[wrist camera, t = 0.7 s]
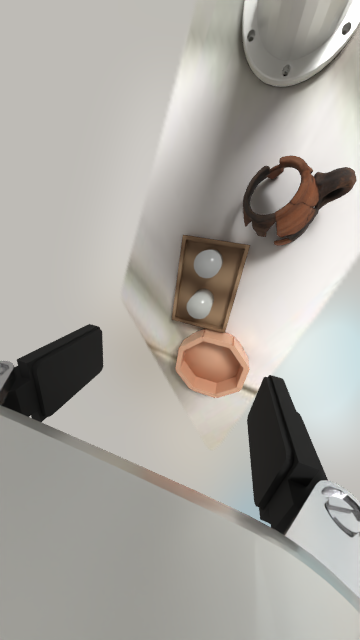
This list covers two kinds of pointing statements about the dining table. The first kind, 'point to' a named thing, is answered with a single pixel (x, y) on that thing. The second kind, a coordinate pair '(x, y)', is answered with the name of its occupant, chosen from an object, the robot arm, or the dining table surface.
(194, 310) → the stone
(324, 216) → the dining table surface
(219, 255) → the stone
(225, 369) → the bowl
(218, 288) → the tray
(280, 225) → the brown piece
